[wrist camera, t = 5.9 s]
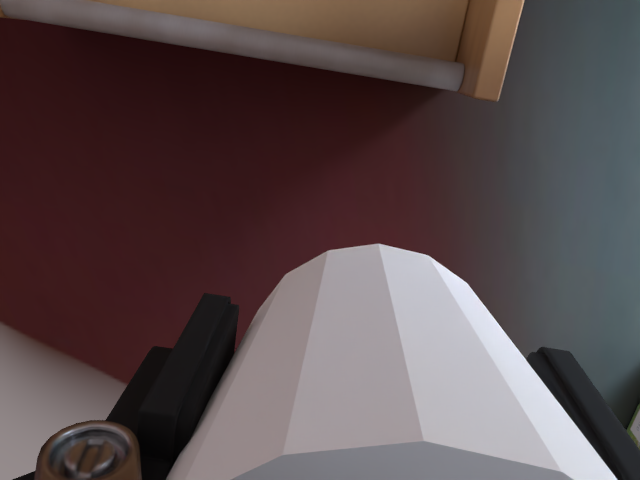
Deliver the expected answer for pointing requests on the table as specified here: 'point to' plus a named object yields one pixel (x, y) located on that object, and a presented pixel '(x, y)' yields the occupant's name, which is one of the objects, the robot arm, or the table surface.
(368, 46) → the spice rack
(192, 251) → the table surface
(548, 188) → the table surface
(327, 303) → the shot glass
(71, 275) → the table surface
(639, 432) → the syrup box
